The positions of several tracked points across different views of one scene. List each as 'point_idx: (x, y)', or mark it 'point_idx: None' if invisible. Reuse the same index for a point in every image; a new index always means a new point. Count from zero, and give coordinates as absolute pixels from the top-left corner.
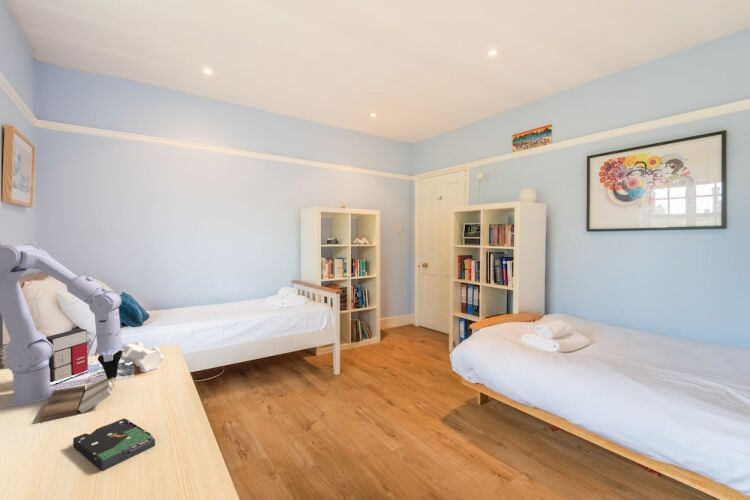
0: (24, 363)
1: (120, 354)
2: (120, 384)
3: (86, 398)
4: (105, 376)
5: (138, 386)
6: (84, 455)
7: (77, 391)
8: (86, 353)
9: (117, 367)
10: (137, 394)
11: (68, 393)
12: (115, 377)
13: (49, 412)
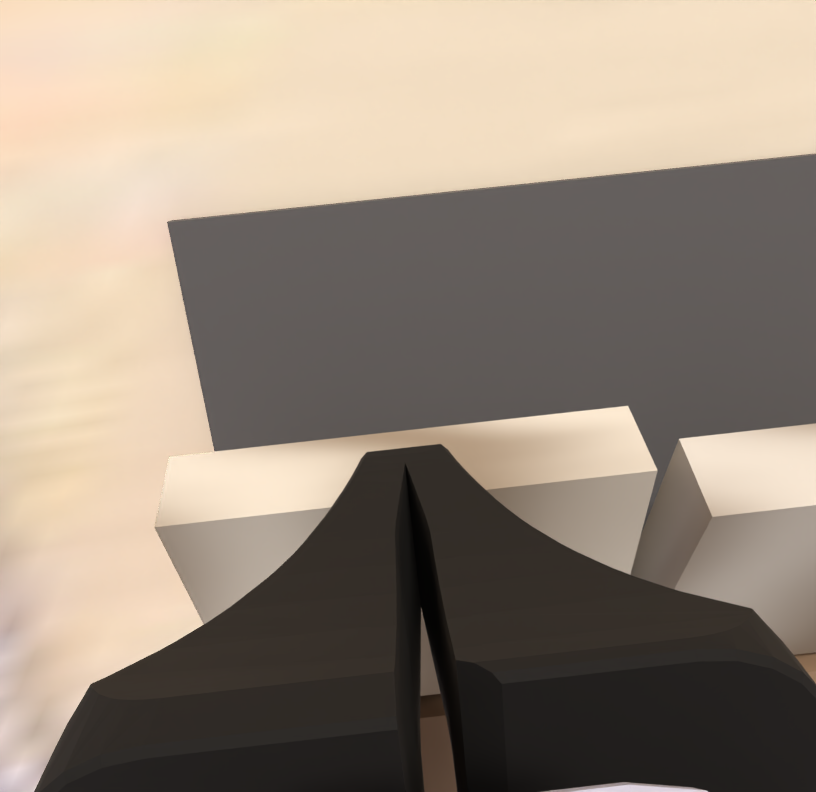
0: None
1: (621, 702)
2: (168, 357)
3: (786, 635)
4: (204, 602)
5: (365, 92)
6: None
7: (430, 761)
8: None
9: (514, 514)
10: (690, 72)
11: None
12: (450, 453)
13: None
